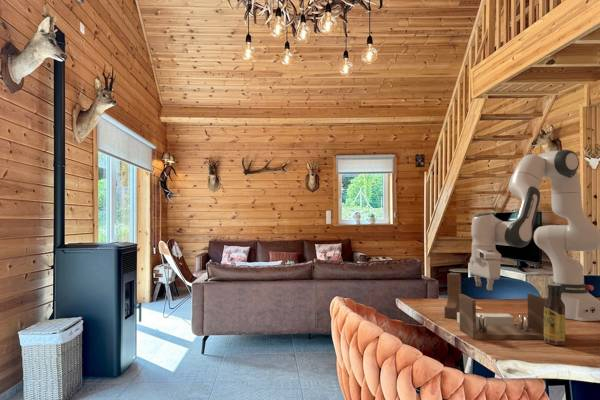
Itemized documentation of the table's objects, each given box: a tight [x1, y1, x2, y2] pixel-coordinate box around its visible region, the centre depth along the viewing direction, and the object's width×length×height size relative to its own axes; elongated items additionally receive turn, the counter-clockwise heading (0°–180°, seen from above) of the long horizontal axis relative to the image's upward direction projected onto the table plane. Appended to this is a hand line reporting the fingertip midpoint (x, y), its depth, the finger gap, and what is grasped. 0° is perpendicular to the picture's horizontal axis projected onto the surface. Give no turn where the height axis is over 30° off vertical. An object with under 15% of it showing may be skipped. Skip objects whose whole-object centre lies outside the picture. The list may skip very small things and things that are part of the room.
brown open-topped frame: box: [459, 293, 547, 340], centre depth 152 cm, size 27×12×14 cm, turn 90°
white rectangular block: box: [456, 312, 515, 326], centre depth 167 cm, size 20×6×4 cm, turn 83°
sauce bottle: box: [543, 282, 566, 346], centre depth 141 cm, size 6×6×20 cm
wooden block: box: [444, 272, 462, 319], centre depth 180 cm, size 9×4×18 cm, turn 142°
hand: (483, 288), depth 167 cm, fingers open, 8 cm apart
